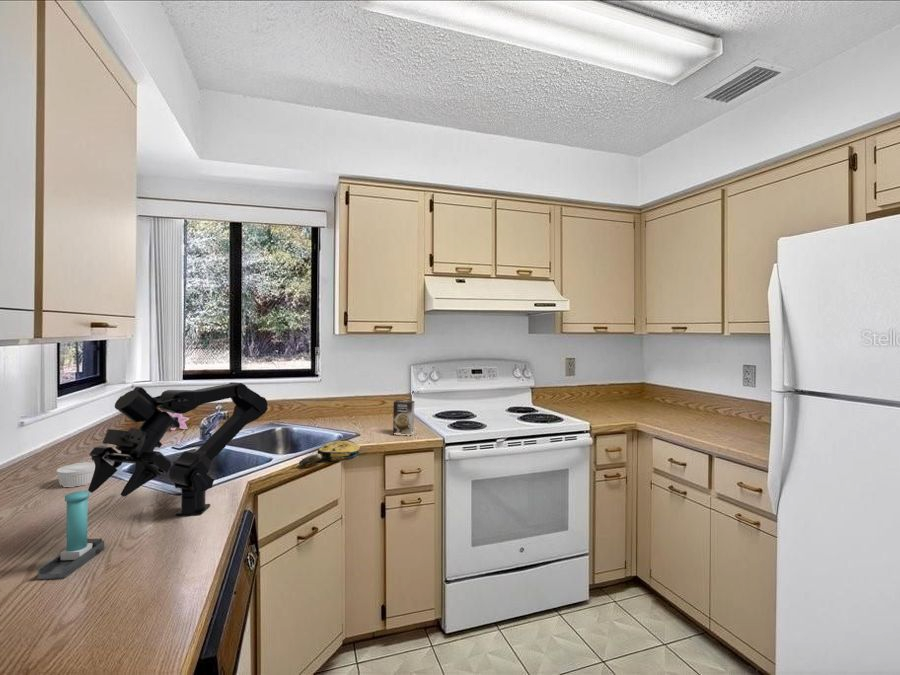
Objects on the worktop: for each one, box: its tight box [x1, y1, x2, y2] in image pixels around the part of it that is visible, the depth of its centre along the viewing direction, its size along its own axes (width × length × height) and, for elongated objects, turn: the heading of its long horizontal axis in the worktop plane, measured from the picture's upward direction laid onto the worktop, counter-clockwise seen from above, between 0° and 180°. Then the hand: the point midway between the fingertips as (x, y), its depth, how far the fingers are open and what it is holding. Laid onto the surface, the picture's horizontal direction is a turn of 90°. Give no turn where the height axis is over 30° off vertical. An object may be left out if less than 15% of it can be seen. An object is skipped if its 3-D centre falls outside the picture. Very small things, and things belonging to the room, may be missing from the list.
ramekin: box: [55, 461, 95, 487], centre depth 145 cm, size 11×11×5 cm
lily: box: [167, 412, 190, 431], centre depth 224 cm, size 12×12×10 cm
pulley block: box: [298, 439, 368, 466], centre depth 177 cm, size 14×6×30 cm
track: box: [37, 538, 105, 580], centre depth 95 cm, size 12×5×3 cm, turn 6°
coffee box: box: [392, 399, 415, 434], centre depth 221 cm, size 9×6×16 cm
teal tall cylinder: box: [59, 490, 92, 560], centre depth 96 cm, size 4×4×13 cm
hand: (106, 493), depth 102 cm, fingers open, 9 cm apart
